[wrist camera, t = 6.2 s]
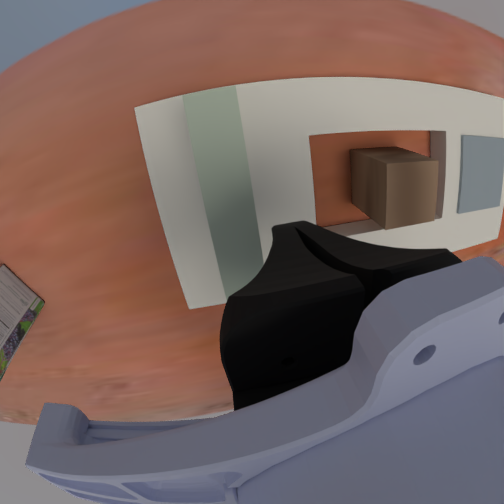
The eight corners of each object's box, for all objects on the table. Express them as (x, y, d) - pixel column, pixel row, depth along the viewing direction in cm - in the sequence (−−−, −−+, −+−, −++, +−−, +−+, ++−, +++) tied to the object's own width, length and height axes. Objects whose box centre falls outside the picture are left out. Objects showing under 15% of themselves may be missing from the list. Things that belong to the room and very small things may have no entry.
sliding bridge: (229, 94, 14) (235, 85, 9) (262, 293, 20) (275, 345, 16) (193, 100, 14) (182, 95, 9) (234, 298, 20) (240, 351, 16)
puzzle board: (493, 97, 16) (510, 100, 14) (485, 230, 23) (499, 239, 21) (142, 107, 16) (132, 107, 14) (190, 293, 22) (189, 311, 20)
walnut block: (396, 146, 19) (438, 160, 14) (396, 196, 20) (434, 220, 16) (349, 149, 18) (386, 163, 14) (351, 203, 20) (385, 230, 16)
